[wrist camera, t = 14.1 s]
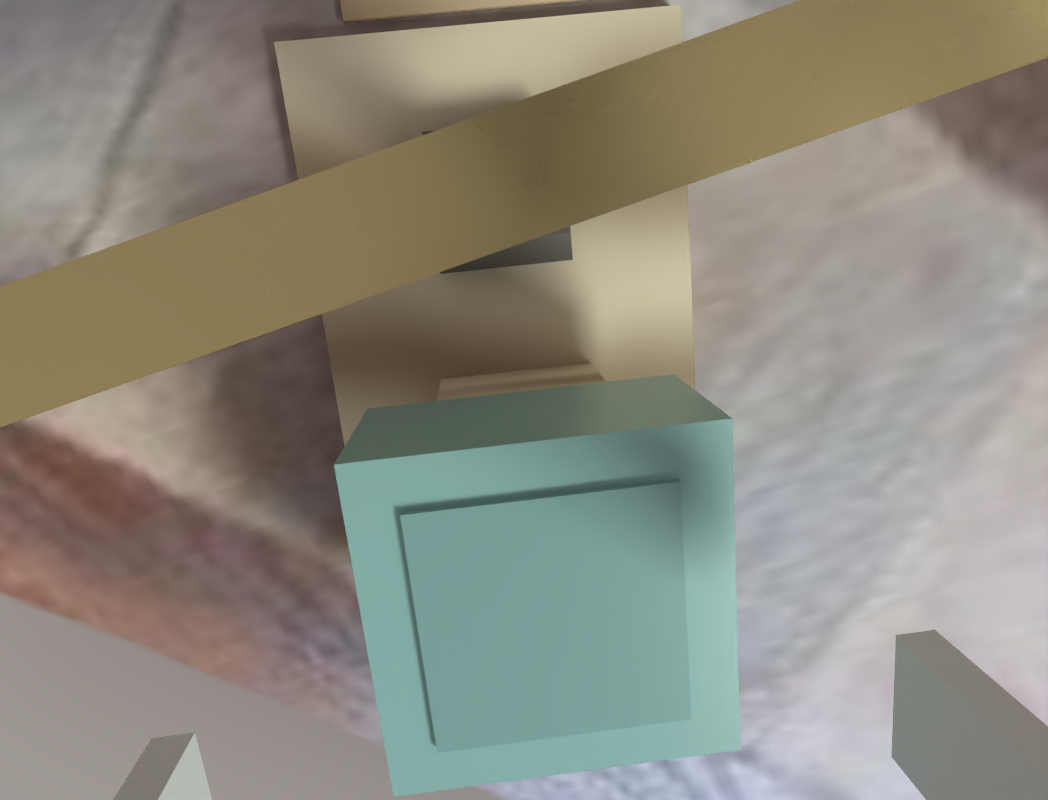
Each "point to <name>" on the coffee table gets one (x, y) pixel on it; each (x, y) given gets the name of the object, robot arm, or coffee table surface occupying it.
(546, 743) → the cover
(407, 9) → the pad
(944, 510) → the coffee table surface
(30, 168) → the coffee table surface
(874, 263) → the coffee table surface
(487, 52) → the housing
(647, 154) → the t key
